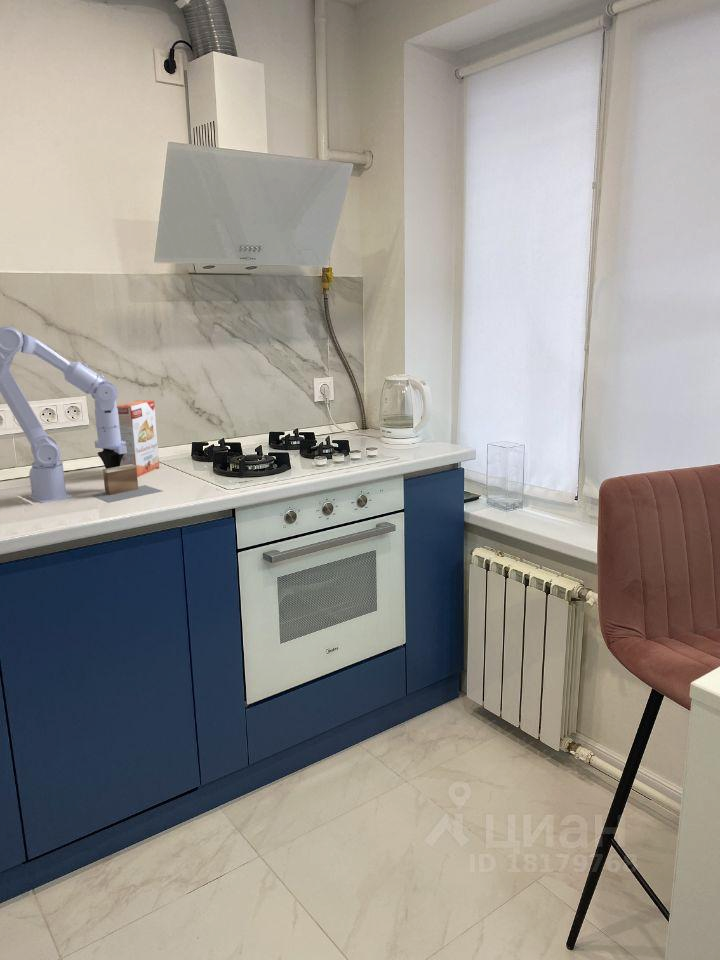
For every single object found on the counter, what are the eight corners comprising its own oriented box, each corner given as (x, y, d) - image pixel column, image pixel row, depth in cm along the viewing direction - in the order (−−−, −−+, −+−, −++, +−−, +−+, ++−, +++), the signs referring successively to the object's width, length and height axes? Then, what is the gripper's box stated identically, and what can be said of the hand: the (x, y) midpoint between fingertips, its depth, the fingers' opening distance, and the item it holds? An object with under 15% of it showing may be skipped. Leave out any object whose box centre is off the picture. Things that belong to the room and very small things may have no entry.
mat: (91, 497, 186) (91, 495, 185) (145, 486, 196) (145, 485, 195) (108, 504, 178) (108, 502, 178) (163, 492, 189) (163, 491, 188)
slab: (105, 493, 187) (102, 469, 186) (134, 487, 193) (131, 464, 191) (109, 495, 186) (107, 470, 184) (138, 489, 191) (136, 465, 189)
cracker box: (138, 478, 205) (131, 405, 200) (119, 478, 207) (111, 405, 202) (161, 468, 219) (154, 399, 214) (143, 467, 220) (136, 399, 215)
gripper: (135, 427, 186) (140, 478, 189) (110, 422, 196) (115, 470, 199) (109, 431, 181) (115, 483, 184) (84, 425, 191) (90, 475, 195)
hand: (113, 477), depth 191 cm, fingers closed
